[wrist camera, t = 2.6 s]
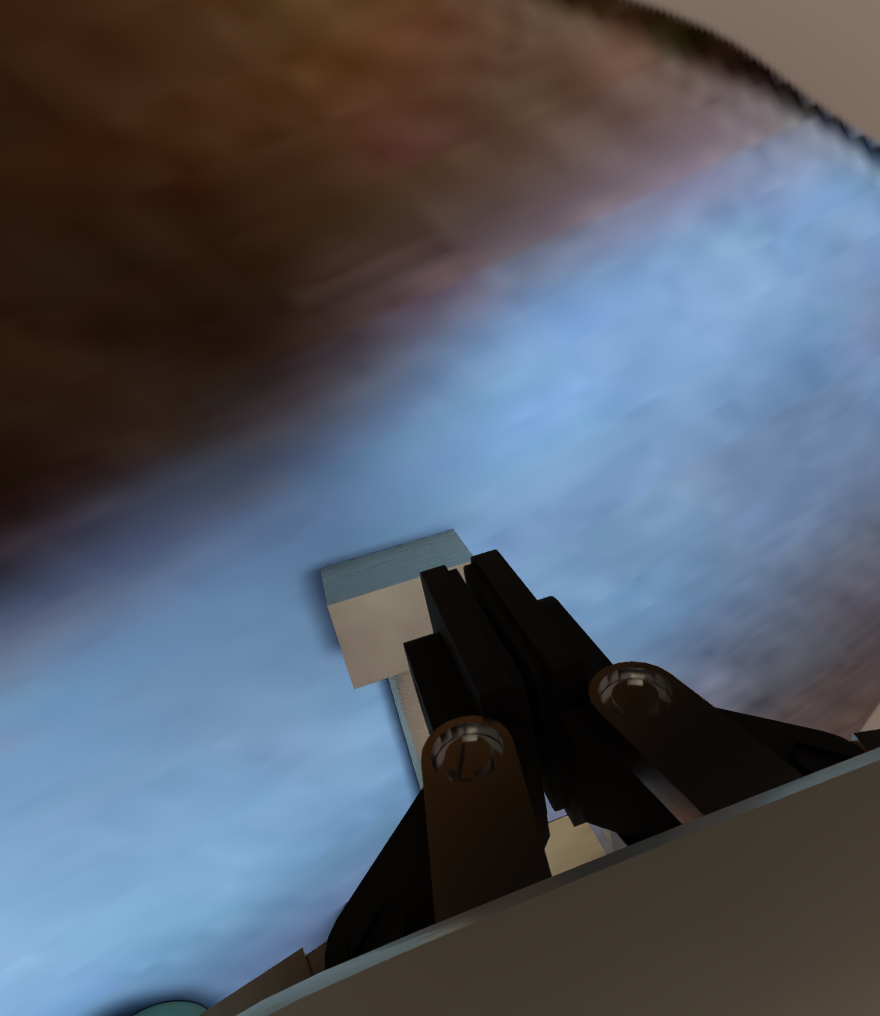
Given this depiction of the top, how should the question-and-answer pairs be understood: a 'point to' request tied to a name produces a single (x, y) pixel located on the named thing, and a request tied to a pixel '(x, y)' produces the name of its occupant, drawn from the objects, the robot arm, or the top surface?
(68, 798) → the top surface
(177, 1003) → the cupcake
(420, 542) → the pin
